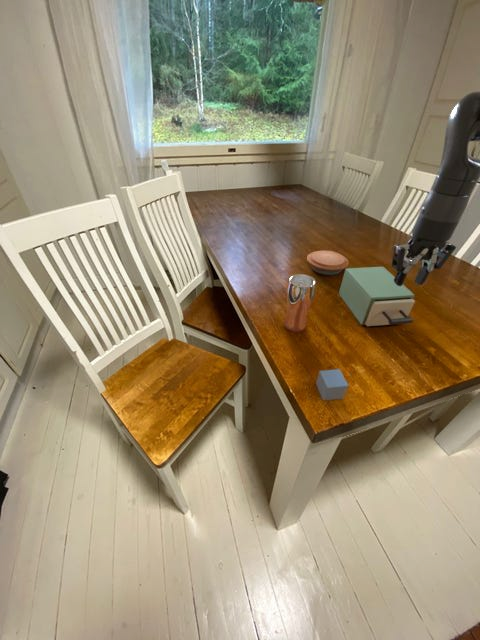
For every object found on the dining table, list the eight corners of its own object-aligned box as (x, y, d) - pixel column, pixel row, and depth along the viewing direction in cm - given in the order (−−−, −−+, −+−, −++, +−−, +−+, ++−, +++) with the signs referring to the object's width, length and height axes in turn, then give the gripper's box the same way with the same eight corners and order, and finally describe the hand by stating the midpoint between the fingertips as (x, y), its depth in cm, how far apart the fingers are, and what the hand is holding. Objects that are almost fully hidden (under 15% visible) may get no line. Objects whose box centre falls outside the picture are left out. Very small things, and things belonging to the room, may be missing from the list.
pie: (348, 280, 99) (351, 267, 96) (305, 275, 102) (307, 263, 98) (344, 261, 111) (347, 249, 108) (305, 257, 113) (307, 246, 110)
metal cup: (279, 319, 81) (284, 275, 72) (300, 316, 82) (308, 272, 73) (288, 334, 76) (295, 289, 66) (311, 330, 77) (321, 285, 68)
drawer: (414, 334, 75) (427, 312, 70) (375, 337, 74) (385, 315, 69) (376, 294, 91) (384, 273, 86) (344, 296, 90) (350, 275, 85)
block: (343, 398, 60) (348, 385, 57) (322, 400, 59) (327, 387, 56) (334, 382, 63) (339, 368, 60) (315, 383, 63) (319, 370, 60)
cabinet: (401, 322, 81) (414, 295, 75) (361, 325, 79) (371, 297, 73) (373, 291, 93) (383, 266, 87) (338, 293, 92) (345, 268, 86)
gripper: (419, 221, 54) (389, 293, 65) (485, 219, 55) (444, 290, 66) (398, 210, 60) (373, 277, 70) (457, 208, 61) (424, 275, 72)
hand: (408, 283), depth 68 cm, fingers open, 5 cm apart
